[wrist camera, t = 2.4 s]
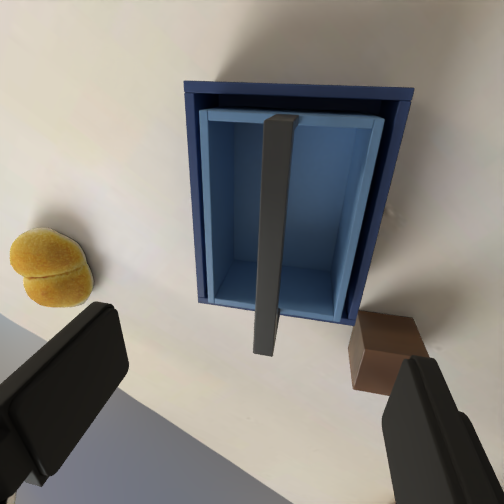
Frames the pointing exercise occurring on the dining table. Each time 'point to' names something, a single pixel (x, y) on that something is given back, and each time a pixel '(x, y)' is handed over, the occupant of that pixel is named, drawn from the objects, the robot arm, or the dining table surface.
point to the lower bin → (317, 98)
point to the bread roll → (52, 268)
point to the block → (381, 350)
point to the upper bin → (284, 208)
